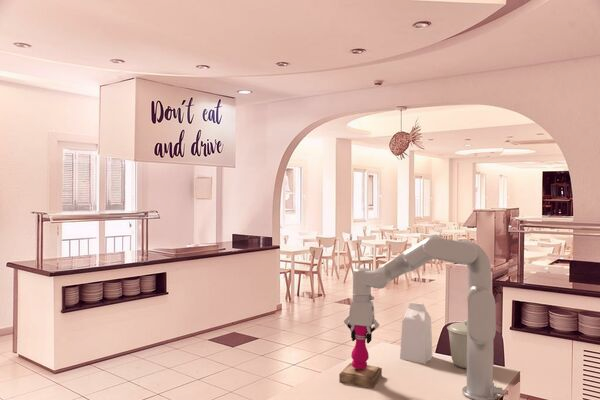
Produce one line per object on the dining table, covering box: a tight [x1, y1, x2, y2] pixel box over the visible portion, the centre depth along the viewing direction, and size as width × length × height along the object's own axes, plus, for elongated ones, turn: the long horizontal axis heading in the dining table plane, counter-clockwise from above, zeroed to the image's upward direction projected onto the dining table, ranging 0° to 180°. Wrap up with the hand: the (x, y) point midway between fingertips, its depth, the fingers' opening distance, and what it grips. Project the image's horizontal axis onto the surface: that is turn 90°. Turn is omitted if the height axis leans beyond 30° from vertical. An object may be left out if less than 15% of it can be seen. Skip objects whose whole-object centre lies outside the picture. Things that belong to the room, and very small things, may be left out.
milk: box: [399, 301, 433, 365], centre depth 222 cm, size 12×12×26 cm
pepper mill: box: [350, 325, 370, 369], centre depth 195 cm, size 7×7×20 cm
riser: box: [338, 362, 383, 389], centre depth 195 cm, size 14×14×4 cm
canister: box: [446, 318, 468, 370], centre depth 212 cm, size 18×18×21 cm
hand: (361, 340), depth 195 cm, fingers closed on pepper mill, 5 cm apart
